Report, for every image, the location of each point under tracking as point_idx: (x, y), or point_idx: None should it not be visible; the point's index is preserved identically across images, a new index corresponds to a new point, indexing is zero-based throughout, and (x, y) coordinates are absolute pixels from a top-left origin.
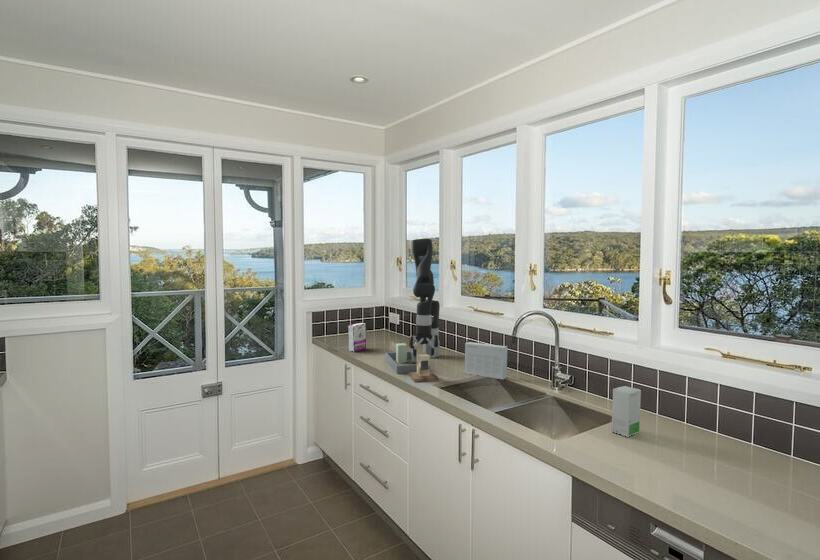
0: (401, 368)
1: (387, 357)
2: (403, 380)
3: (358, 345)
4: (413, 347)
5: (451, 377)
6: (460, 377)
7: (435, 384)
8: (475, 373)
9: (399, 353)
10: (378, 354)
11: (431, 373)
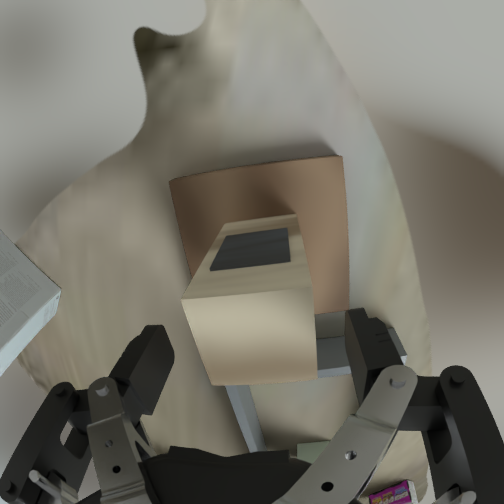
0: None
1: None
2: (396, 203)
3: (394, 497)
4: (418, 391)
5: (105, 236)
6: (69, 233)
7: (205, 96)
8: (22, 260)
9: None
10: None
11: None
